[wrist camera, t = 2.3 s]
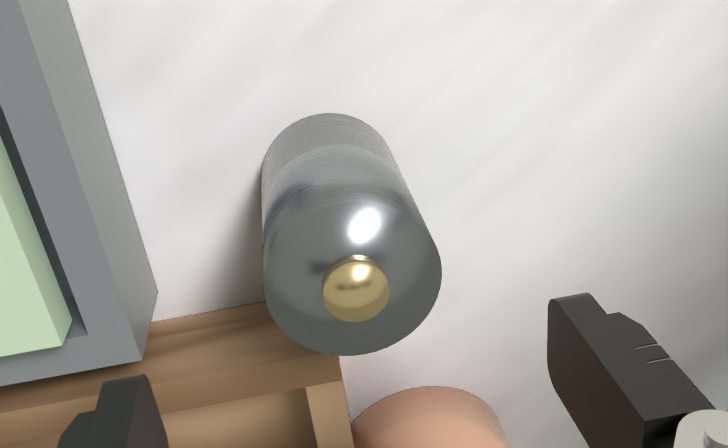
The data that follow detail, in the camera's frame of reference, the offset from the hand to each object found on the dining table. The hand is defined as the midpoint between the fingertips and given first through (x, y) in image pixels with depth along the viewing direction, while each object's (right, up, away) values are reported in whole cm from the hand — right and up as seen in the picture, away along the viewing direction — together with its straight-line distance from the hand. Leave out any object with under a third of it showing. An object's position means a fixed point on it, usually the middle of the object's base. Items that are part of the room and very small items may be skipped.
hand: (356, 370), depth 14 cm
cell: (-1, +4, +9) cm, 10 cm away
